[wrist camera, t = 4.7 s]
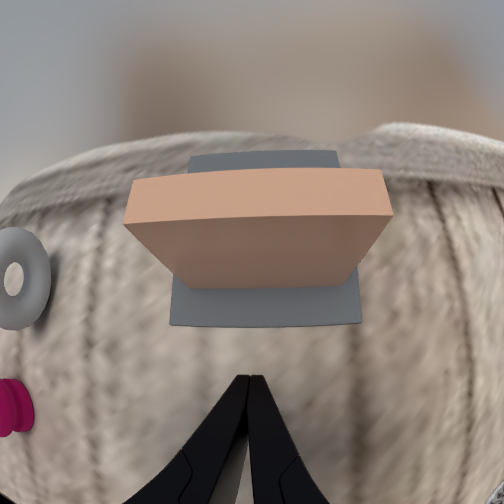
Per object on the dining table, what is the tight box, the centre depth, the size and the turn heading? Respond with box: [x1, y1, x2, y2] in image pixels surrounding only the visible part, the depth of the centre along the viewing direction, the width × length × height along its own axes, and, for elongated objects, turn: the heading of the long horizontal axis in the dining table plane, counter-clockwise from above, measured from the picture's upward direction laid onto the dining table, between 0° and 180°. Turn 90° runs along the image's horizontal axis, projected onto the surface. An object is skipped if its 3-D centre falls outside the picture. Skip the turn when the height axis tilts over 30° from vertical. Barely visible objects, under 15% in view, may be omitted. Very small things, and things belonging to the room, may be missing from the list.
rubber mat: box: [169, 150, 362, 328], centre depth 24 cm, size 17×15×1 cm
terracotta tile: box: [123, 168, 393, 289], centre depth 17 cm, size 3×12×11 cm, turn 89°
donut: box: [0, 227, 51, 331], centre depth 19 cm, size 10×4×10 cm, turn 173°
